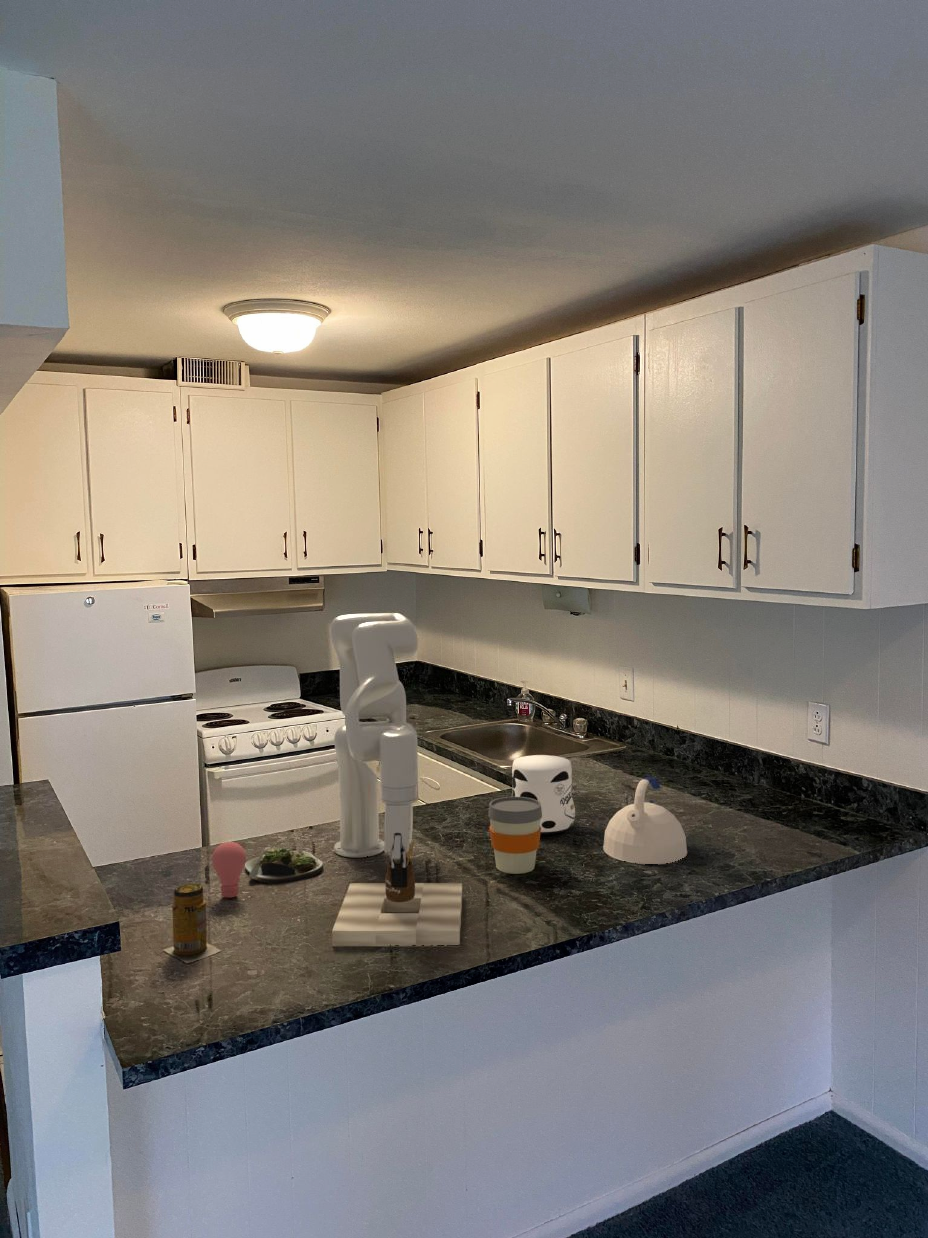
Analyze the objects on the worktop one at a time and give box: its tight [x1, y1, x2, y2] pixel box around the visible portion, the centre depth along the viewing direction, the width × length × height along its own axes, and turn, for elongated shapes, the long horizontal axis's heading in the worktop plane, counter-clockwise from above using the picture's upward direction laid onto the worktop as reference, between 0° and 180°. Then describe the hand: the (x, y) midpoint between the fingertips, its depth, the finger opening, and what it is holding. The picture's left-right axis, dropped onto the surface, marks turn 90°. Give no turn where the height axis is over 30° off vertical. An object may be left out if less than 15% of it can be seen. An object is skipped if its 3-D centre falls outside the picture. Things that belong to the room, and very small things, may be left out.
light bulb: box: [211, 841, 247, 899], centre depth 198 cm, size 7×7×12 cm
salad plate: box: [244, 847, 324, 884], centre depth 215 cm, size 19×18×5 cm
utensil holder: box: [384, 841, 416, 902], centre depth 184 cm, size 6×6×12 cm
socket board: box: [331, 882, 463, 947], centre depth 185 cm, size 24×24×3 cm
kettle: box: [602, 776, 688, 865], centre depth 224 cm, size 20×21×18 cm
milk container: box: [511, 754, 576, 835], centre depth 242 cm, size 17×17×18 cm
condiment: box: [163, 883, 222, 964], centre depth 172 cm, size 7×8×12 cm
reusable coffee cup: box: [487, 796, 542, 875], centre depth 214 cm, size 13×12×15 cm
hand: (400, 880), depth 185 cm, fingers closed on utensil holder, 5 cm apart
